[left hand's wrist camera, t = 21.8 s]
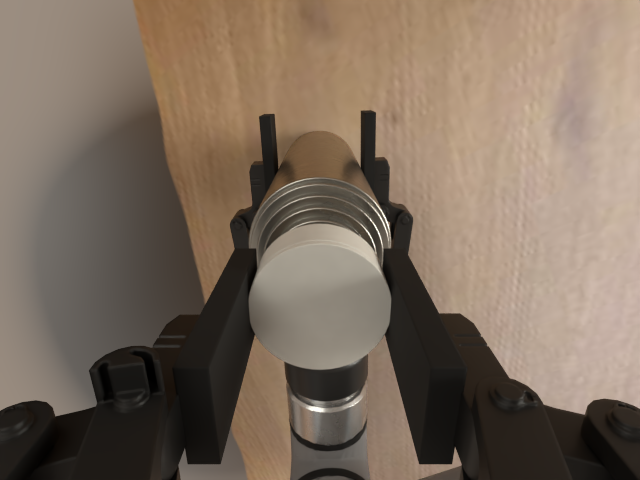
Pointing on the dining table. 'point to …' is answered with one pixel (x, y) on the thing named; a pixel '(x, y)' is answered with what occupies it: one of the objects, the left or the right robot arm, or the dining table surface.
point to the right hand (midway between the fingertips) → (317, 113)
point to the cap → (319, 298)
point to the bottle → (319, 195)
